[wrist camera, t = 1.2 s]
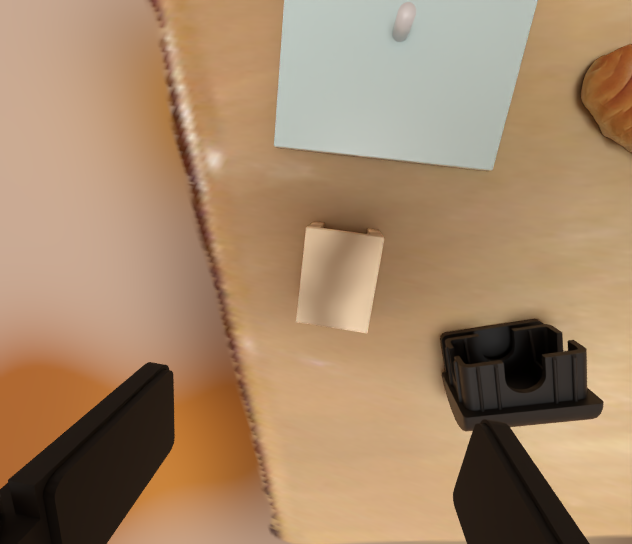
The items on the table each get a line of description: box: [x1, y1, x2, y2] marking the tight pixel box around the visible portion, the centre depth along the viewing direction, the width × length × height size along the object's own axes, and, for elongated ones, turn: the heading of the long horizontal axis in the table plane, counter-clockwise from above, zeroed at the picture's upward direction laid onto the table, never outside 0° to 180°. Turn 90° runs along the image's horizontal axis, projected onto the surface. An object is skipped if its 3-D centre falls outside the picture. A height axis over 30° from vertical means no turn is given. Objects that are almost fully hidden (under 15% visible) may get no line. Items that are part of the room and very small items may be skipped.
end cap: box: [440, 319, 603, 431], centre depth 26 cm, size 10×7×7 cm
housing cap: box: [296, 222, 384, 333], centre depth 26 cm, size 6×8×5 cm
